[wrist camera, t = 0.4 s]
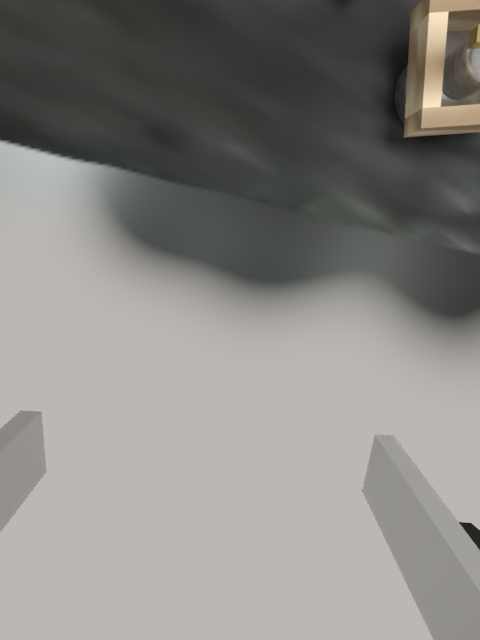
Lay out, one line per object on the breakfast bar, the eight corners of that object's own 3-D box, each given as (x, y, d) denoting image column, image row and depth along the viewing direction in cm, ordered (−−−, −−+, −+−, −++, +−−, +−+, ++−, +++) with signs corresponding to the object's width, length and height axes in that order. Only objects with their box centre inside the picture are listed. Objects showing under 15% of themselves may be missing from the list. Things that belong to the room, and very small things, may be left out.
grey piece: (396, 51, 33) (478, -36, 22) (474, 46, 33) (595, -45, 22) (392, 137, 35) (465, 97, 24) (465, 132, 35) (572, 89, 24)
